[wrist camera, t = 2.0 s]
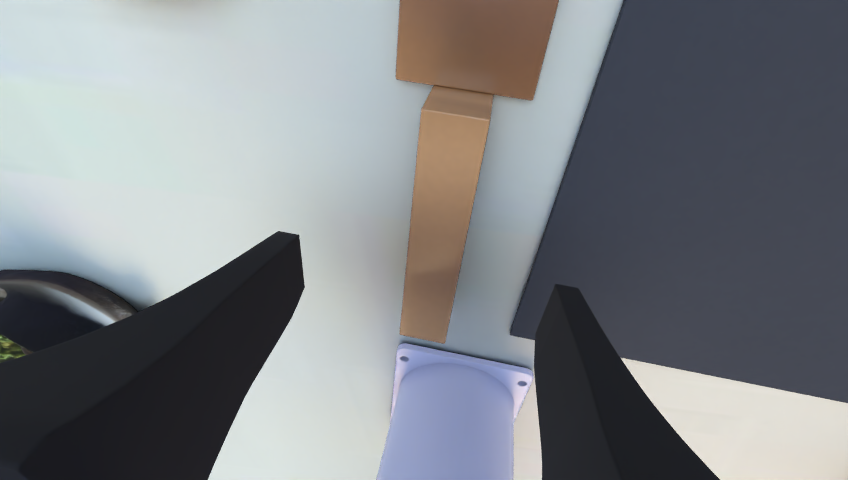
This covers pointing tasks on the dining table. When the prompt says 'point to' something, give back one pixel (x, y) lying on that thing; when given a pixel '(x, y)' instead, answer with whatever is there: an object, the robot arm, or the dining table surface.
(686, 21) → the corner mat
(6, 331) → the salad plate
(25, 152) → the dining table surface
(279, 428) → the dining table surface
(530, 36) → the spatula
